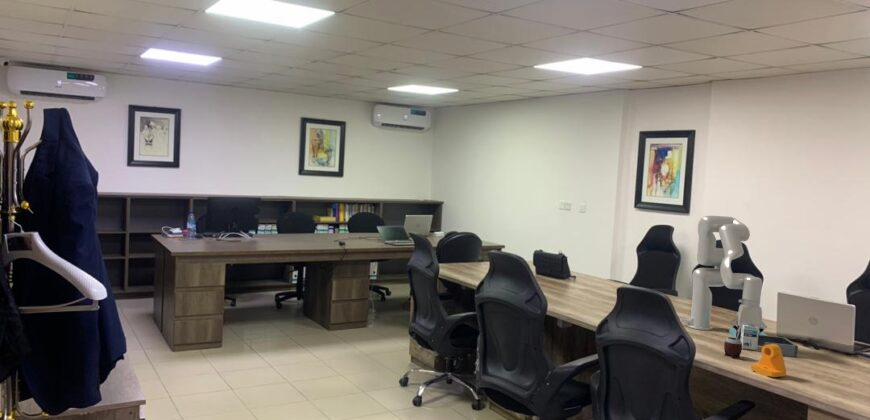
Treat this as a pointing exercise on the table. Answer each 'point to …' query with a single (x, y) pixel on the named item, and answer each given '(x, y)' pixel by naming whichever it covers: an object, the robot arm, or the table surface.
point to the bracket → (770, 362)
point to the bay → (779, 344)
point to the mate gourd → (733, 346)
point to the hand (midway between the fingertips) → (746, 340)
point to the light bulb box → (749, 336)
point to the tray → (733, 332)
